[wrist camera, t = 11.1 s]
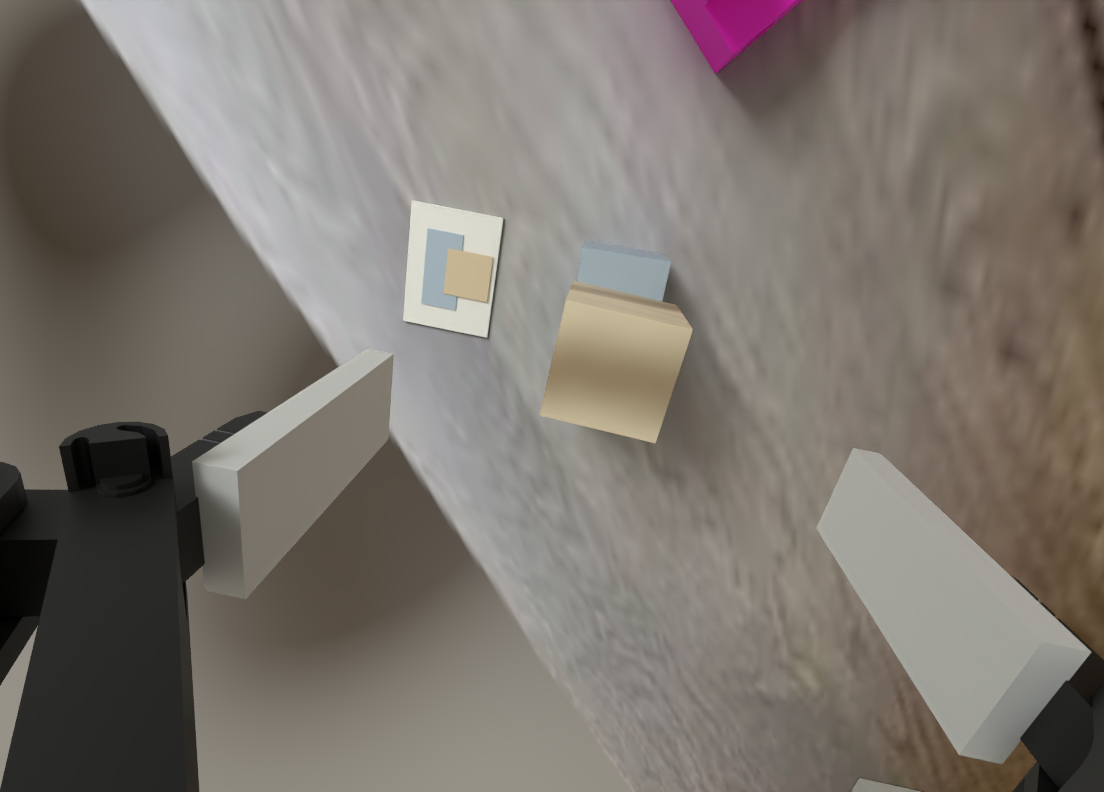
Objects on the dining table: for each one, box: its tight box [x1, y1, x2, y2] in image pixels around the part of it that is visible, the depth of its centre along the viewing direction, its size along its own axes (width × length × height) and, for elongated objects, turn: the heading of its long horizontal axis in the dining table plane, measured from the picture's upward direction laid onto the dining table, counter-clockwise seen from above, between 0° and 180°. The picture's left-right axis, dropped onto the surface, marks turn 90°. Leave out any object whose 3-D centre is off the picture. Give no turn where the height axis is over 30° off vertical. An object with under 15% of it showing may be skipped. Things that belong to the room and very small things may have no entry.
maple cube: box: [540, 281, 693, 443], centre depth 27 cm, size 6×6×6 cm
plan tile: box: [403, 200, 504, 338], centre depth 34 cm, size 8×6×1 cm
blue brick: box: [577, 241, 671, 301], centre depth 32 cm, size 10×5×5 cm, turn 171°
